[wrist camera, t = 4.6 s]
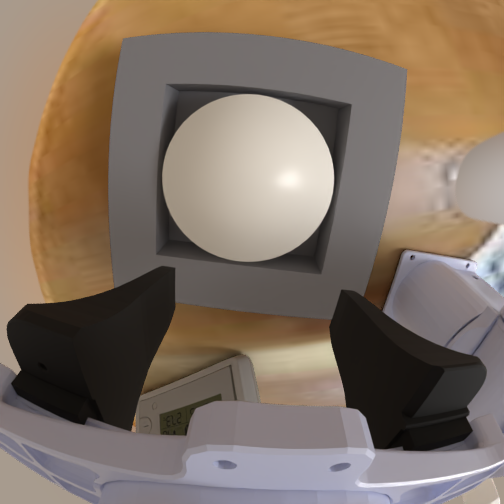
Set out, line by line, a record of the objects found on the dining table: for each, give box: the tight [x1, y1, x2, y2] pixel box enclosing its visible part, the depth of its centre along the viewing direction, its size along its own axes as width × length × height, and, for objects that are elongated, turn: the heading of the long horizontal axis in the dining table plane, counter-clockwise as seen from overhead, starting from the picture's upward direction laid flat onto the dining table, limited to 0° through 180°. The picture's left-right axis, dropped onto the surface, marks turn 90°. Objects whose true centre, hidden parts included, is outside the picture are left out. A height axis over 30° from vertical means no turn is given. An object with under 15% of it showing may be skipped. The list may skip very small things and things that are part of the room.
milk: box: [462, 478, 500, 504], centre depth 25 cm, size 6×6×22 cm
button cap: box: [162, 94, 334, 262], centre depth 17 cm, size 10×10×3 cm
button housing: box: [108, 32, 407, 320], centre depth 18 cm, size 18×18×4 cm
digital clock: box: [136, 355, 261, 436], centre depth 23 cm, size 16×9×11 cm, turn 113°
